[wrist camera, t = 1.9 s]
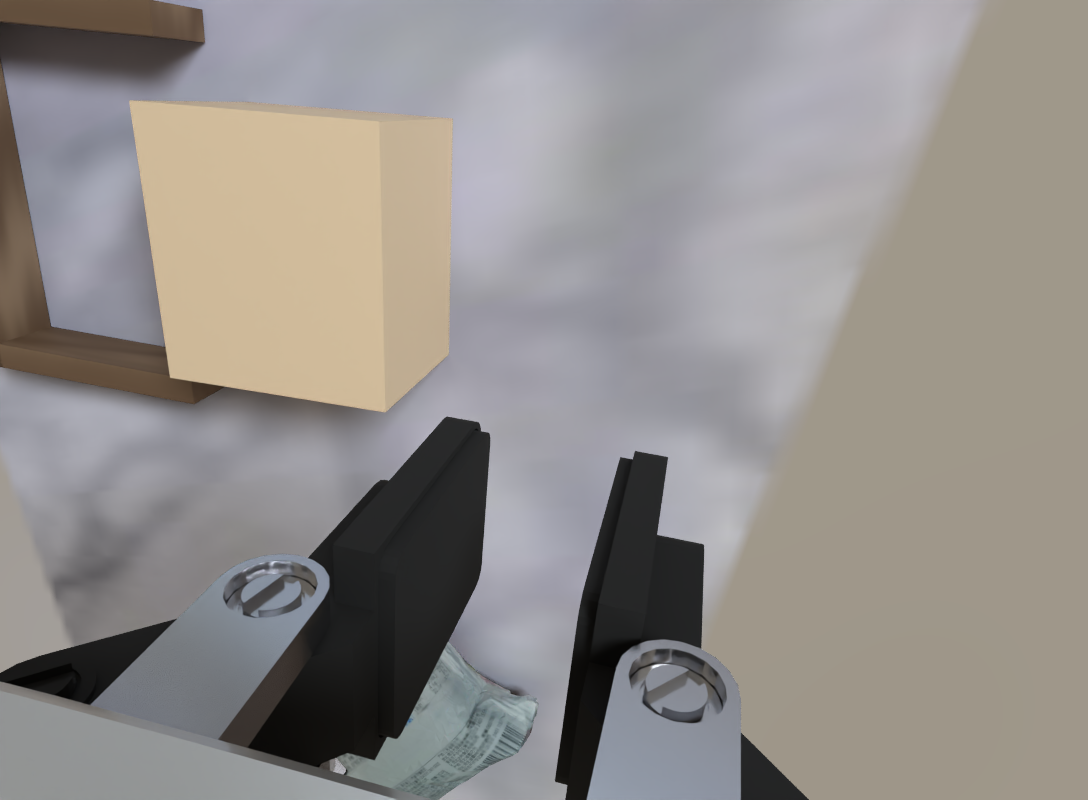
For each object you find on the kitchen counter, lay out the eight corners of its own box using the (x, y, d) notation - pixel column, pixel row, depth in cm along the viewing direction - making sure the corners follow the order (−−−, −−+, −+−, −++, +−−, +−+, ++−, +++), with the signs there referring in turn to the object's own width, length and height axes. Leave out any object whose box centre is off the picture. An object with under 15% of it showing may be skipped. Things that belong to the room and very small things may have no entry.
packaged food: (318, 687, 43) (273, 755, 38) (436, 582, 38) (399, 647, 33) (427, 777, 44) (395, 853, 39) (555, 686, 39) (535, 762, 34)
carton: (252, 102, 30) (129, 100, 24) (453, 118, 29) (379, 121, 22) (271, 327, 34) (170, 377, 28) (449, 353, 33) (385, 412, 26)
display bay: (-36, -12, 31) (-108, -23, 28) (201, 9, 29) (149, -1, 26) (35, 344, 38) (-18, 363, 35) (233, 381, 36) (194, 404, 33)
